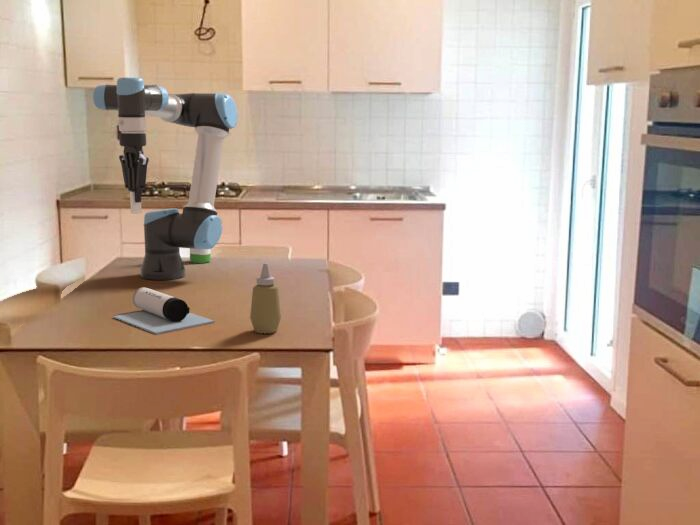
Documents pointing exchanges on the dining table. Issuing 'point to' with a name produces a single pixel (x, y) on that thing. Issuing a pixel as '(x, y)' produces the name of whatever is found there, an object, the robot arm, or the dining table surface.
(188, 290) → the dining table surface
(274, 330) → the squeeze bottle
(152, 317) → the mat
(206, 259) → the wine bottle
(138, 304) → the travel mug
